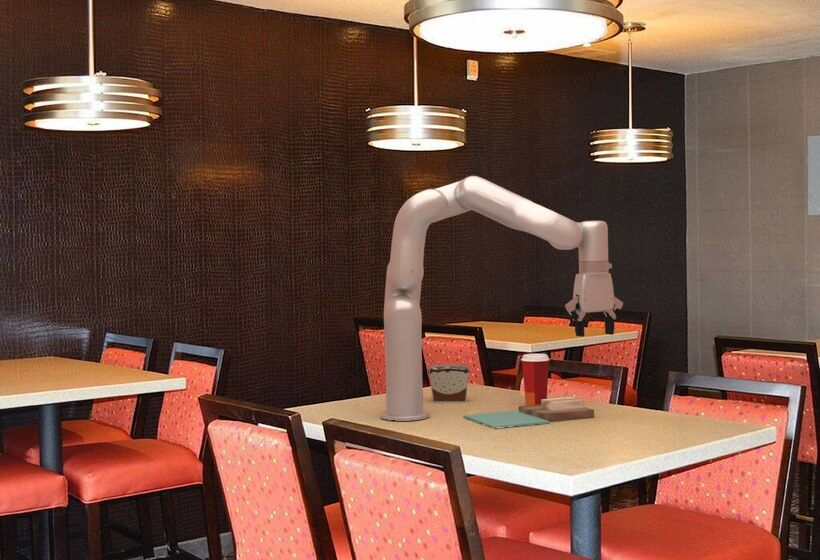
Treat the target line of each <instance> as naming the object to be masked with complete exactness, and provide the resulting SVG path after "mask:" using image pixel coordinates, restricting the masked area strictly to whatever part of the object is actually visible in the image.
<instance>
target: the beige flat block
mask: <svg viewBox="0 0 820 560" xmlns="http://www.w3.org/2000/svg"><path fill="white" fill-rule="evenodd" d="M541 402H542V407H543V408H546V409H550V410H553V411H554V410H564V409H575V408H584V407H585V403H584V402H585V401H584V399H582V398H577V397H574V396H566V397H556V398H555V397H554V398H547V399H541Z"/></svg>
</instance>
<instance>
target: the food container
mask: <svg viewBox="0 0 820 560" xmlns="http://www.w3.org/2000/svg"><path fill="white" fill-rule="evenodd" d="M426 373H427V374H426V375H429V380H430V387H431V388H430V389H431V396H432V402H433V403H467V395H468V382H469V374H470V375H471V370H470V368H469V365H466V364H438V365H437V364H435V365H431V366H429V367H428V369H427V372H426Z"/></svg>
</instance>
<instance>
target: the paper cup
mask: <svg viewBox="0 0 820 560" xmlns="http://www.w3.org/2000/svg"><path fill="white" fill-rule="evenodd" d="M520 361H522V373H523V374H522V375H523V376H522V377H523V385H524V387H523V388H524V399H525V406H529V405H540V404H542V402H541V399H548V386H549V385H548V382H549V361H550V358H549V356H548V354H546V353H526V354H523V355H522V356H521V359H520Z"/></svg>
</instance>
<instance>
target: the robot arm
mask: <svg viewBox="0 0 820 560" xmlns="http://www.w3.org/2000/svg"><path fill="white" fill-rule="evenodd" d="M470 211H474V212H476V213H478V214H480V215H483V216H485V217H487V218H489V219H491V220H493V221H495V222H497V223H500V224H502V225H503V226H506V227H507V228H511V229H512V230H513V229H514V230H517V231H521V232H524V233H528V234H531V235H534V236H535V237H538V238H540V239H542V240H544V241H547V242H548V243H549V244H550V246H552V247H553V248H554V249H556V250H563V251H564V250H567V251H570V250H574V249H576V248H578V273H576V274H575V278H574V285H573V294H572V297H573V298H572V299H571V300H569V302H567V303H566V304H565V305H564V308H565V310H566V311H567V312H568V315H569V316H570V318H572V320H573V321H574V332H575V336H576V337H581V338H582V337H585V322H584V320H583V319H584V317H585V316H586V314H587V313H603V314H604V315H605V317H606V318H605V319H604V333H605V334H606V335H609V336H612V335H614V333H615V320H617V316H618V315H619V313H620V311H621V309H622V308H623V305H624V302H623V301H621V300H620V299H619V298H617V297H616V296H615V293H614V284H613V278H612V275H611V272H610V270H609V269H612V268H613V264H612V263H610V261H609V238H608V237H609V232H608V231H609V227H608V224H607V222H606V221H604V220H584V221H581V222H577V221H574V220H572V219H570V218H568V217H566V216H564V215H562V214H559V212H555V211H553V210H552V209H549V208H546V207H545V206H543V205H540V204H537V203H535V202H533V201H532V200H531V199H528V198H525V197H523V196H521V195H519V194H517V193H515V192H512V191H510V190H508V189H506V188H505V187H502V186H499V185H497V184H495V182H491V181H489V180H487V179H485V178H484V177H480V176H477V175H469V176H467V177H465V178H464V179H461V180H459V181H455V182H453V183H449V184H447V185H443V186H440V187H437V188H427V189H424V190H422V191H419V192H418V193H416V194H414V195H412V196H411V197H409V199H407V200H406V201H405V202H404V203H403V204H402V206H401V208H400V209H399V211H398V213H397V215H396V217H395V220H394V224H393V231H392V237H391V238H392V239H391V248H390V256H389V257H390V258H389V259H390V260H389V263H388V264H387V268H386V278H385V279H386V280H385V289H384V291H385V293H384V305H383V326H384V327H383V328H384V331H383V332H384V359H385V365H384V366H385V398H386V400H385V402H386V405H385V406H386V410H385V411H382V412H381V413H380V419H383V420H385V419H386V420H385V421H391V420H395V422H410V421H411V422H412V420H413V421H421V420H424V419H428V418H429V417H430V411H428V410H425V409H424V397H423V396H424V391H423V389H424V388H423V387H424V386H423V356H422V355H423V354H422V353H423V352H422V351H423V350H422V349H423V348H422V327H423V326H422V325H423V324H422V323H423V322H422V321H423V319H422V318H423V317H422V309H421V306H420V303H421V293H422V292H421V291H422V282H423V281H422V280H423V278H424V274H425V273H424V254H425V244H426V236H427V231H428V228H429V226H430V225H431V224H432V223H436V222H439V221H442V220H445V219H448V218H452V217H455V216H459V215H462V214H463V213H467V212H470Z"/></svg>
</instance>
